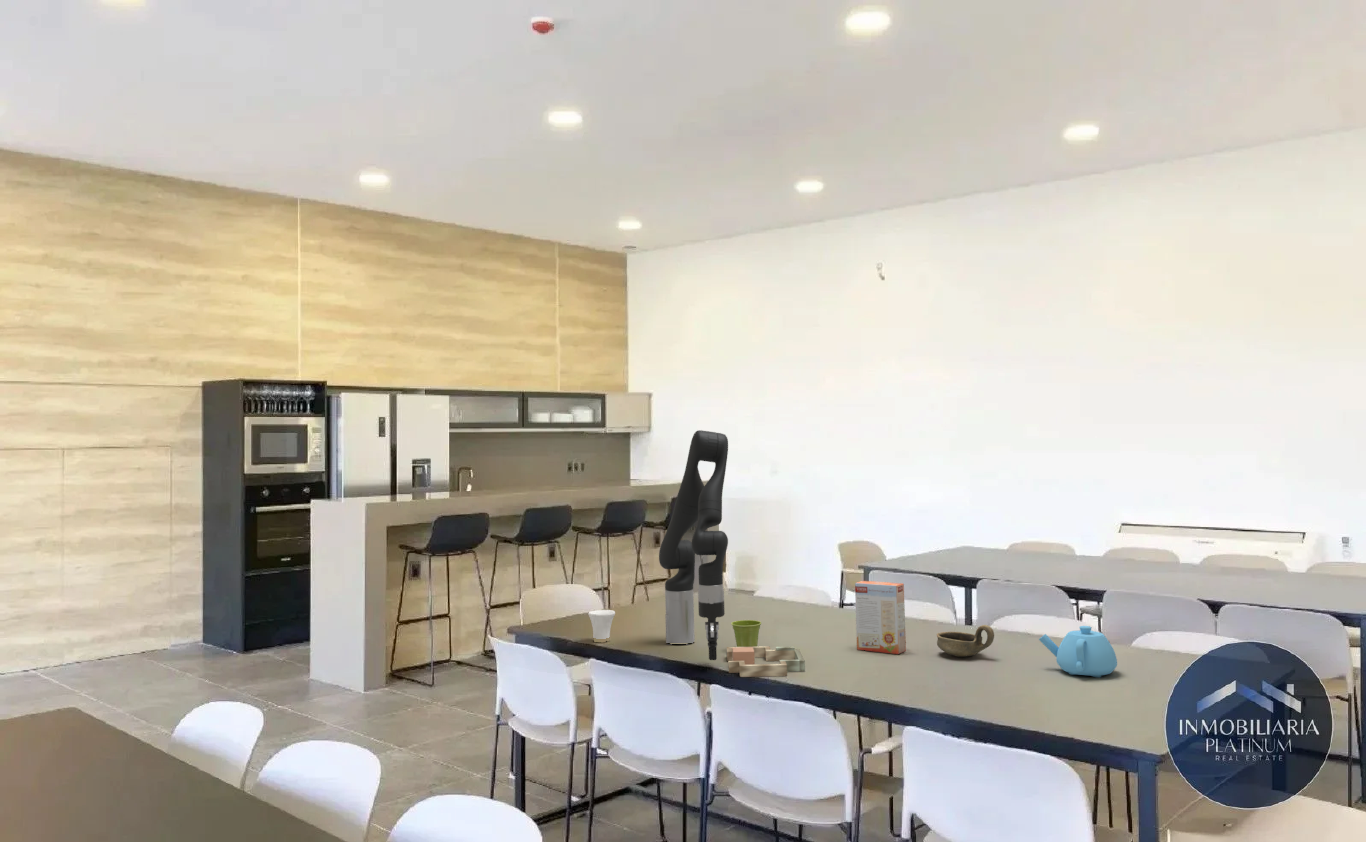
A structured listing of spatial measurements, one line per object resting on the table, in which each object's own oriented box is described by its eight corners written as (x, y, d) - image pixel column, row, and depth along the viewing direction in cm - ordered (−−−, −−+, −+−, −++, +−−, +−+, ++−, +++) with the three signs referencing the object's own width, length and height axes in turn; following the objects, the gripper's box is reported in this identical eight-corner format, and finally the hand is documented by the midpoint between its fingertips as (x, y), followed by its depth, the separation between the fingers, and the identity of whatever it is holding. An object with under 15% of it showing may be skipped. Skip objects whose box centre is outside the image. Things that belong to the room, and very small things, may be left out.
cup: (583, 643, 321) (583, 613, 321) (596, 638, 329) (595, 608, 330) (607, 645, 317) (607, 614, 318) (620, 639, 326) (619, 609, 326)
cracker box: (906, 651, 298) (904, 582, 299) (898, 655, 293) (896, 585, 294) (865, 646, 307) (863, 579, 307) (856, 650, 302) (854, 582, 302)
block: (733, 669, 281) (733, 652, 281) (732, 664, 287) (732, 647, 287) (754, 669, 281) (754, 651, 281) (753, 664, 287) (752, 647, 287)
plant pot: (741, 655, 298) (741, 626, 298) (726, 649, 307) (725, 622, 307) (767, 651, 303) (767, 623, 303) (751, 646, 311) (751, 618, 311)
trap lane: (729, 677, 271) (729, 663, 271) (726, 657, 296) (726, 644, 296) (806, 675, 271) (806, 661, 271) (797, 655, 296) (797, 643, 296)
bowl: (949, 648, 301) (948, 616, 301) (1003, 656, 289) (1002, 622, 289) (927, 656, 291) (926, 623, 291) (982, 665, 279) (981, 630, 279)
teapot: (1111, 684, 254) (1109, 635, 255) (1031, 675, 265) (1030, 629, 265) (1122, 668, 271) (1121, 622, 271) (1047, 660, 282) (1046, 617, 282)
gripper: (698, 596, 291) (699, 655, 291) (698, 603, 278) (699, 665, 277) (723, 595, 291) (725, 654, 290) (724, 603, 278) (726, 664, 277)
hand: (712, 659), depth 284 cm, fingers closed
